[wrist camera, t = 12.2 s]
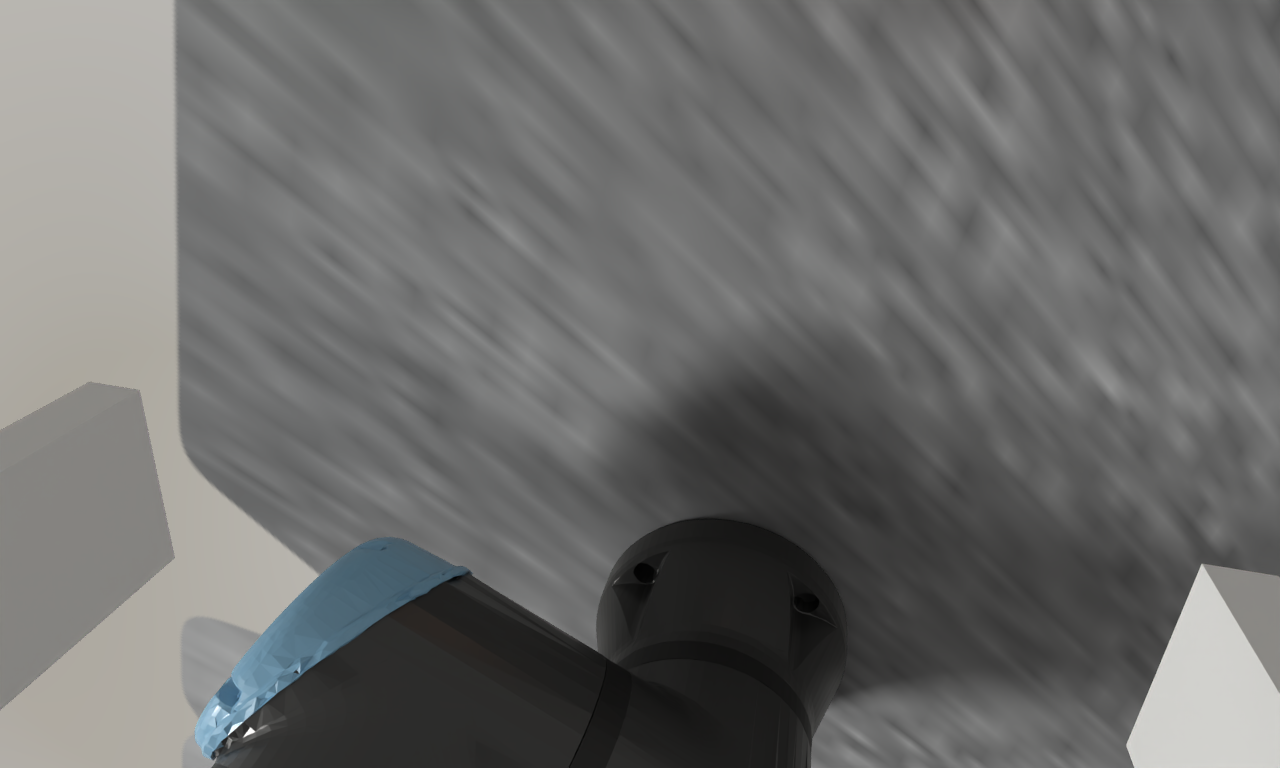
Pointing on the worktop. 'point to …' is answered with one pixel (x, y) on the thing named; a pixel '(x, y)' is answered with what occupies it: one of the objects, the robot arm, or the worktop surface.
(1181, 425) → the worktop surface
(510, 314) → the worktop surface
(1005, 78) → the worktop surface
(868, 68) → the worktop surface
